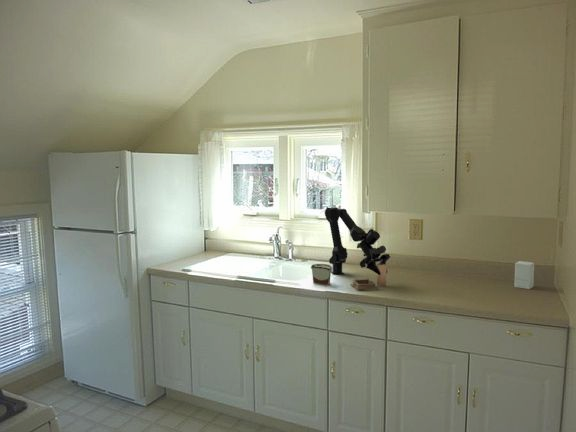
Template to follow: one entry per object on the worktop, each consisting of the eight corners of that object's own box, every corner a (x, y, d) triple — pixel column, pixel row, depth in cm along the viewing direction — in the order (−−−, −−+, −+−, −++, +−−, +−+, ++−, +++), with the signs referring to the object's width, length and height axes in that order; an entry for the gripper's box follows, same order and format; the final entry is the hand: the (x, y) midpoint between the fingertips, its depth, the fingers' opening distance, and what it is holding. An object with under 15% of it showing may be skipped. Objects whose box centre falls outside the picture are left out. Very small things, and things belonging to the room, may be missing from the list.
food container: (336, 283, 237) (336, 265, 236) (330, 286, 232) (330, 267, 231) (316, 280, 244) (316, 262, 242) (310, 282, 239) (310, 264, 237)
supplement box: (533, 286, 225) (535, 262, 224) (529, 289, 220) (530, 265, 219) (518, 284, 231) (519, 260, 229) (513, 286, 225) (514, 262, 224)
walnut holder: (350, 285, 232) (350, 279, 232) (369, 284, 234) (369, 278, 234) (357, 291, 221) (357, 285, 221) (378, 289, 224) (378, 283, 223)
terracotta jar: (375, 284, 234) (375, 264, 232) (383, 283, 235) (384, 263, 233) (378, 286, 229) (379, 266, 227) (387, 286, 230) (388, 265, 228)
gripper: (363, 242, 227) (379, 267, 219) (387, 239, 238) (403, 262, 230) (352, 255, 234) (368, 279, 226) (376, 251, 245) (392, 274, 237)
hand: (383, 273), depth 230 cm, fingers closed on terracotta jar, 5 cm apart
